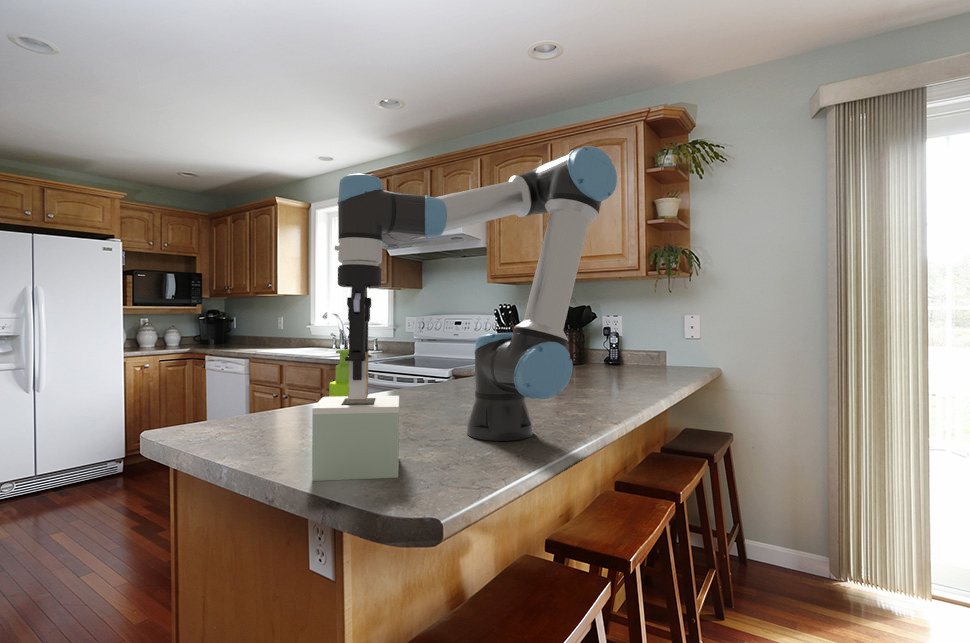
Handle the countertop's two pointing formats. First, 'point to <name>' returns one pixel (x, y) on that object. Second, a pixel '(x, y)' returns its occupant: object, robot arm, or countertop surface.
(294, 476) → the countertop surface
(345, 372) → the soap dispenser
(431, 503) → the countertop surface
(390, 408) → the coin box
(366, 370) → the white tan block
